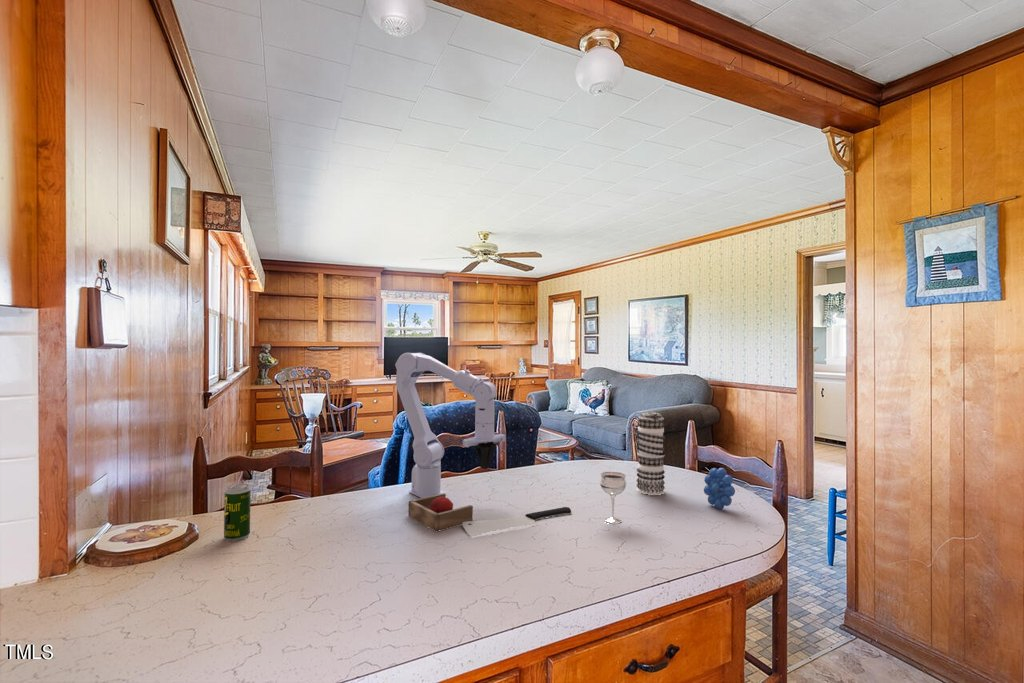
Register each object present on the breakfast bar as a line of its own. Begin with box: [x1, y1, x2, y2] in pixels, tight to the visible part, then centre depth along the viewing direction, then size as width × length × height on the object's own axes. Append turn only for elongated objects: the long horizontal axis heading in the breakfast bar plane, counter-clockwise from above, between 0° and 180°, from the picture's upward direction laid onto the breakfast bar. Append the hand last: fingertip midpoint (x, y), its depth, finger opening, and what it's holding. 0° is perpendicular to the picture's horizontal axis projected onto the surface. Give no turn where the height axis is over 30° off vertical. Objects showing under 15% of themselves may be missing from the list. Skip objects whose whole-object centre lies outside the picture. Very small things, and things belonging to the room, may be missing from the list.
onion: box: [429, 496, 454, 513], centre depth 124 cm, size 6×6×8 cm
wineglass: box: [599, 471, 627, 523], centre depth 125 cm, size 7×7×12 cm
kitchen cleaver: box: [461, 506, 572, 538], centre depth 122 cm, size 31×2×10 cm
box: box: [407, 493, 474, 532], centre depth 125 cm, size 14×11×4 cm
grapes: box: [703, 467, 736, 510], centre depth 135 cm, size 12×7×12 cm, turn 16°
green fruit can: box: [223, 483, 252, 542], centre depth 112 cm, size 5×5×12 cm
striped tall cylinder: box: [635, 411, 667, 496], centre depth 151 cm, size 9×9×25 cm
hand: (484, 468), depth 141 cm, fingers closed
